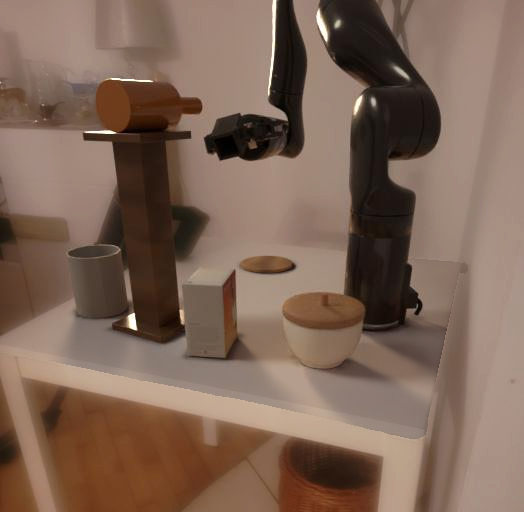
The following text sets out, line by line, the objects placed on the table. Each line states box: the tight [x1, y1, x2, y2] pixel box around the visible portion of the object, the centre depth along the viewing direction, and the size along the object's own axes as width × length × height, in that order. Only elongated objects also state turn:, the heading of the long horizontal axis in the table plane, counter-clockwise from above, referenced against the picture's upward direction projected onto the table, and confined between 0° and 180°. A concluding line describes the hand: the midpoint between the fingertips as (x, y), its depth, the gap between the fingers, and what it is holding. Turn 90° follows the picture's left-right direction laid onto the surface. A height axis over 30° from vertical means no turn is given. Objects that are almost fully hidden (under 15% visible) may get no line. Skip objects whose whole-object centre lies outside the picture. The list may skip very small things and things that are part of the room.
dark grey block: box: [210, 112, 247, 162], centre depth 76 cm, size 6×4×4 cm
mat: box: [241, 255, 293, 274], centre depth 106 cm, size 11×11×1 cm
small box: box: [181, 266, 238, 359], centre depth 68 cm, size 8×6×10 cm
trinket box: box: [281, 291, 365, 370], centre depth 65 cm, size 11×11×9 cm
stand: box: [82, 129, 192, 344], centre depth 71 cm, size 10×10×28 cm
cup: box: [65, 244, 129, 319], centre depth 81 cm, size 8×8×10 cm
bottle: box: [94, 78, 204, 133], centre depth 67 cm, size 17×6×6 cm, turn 149°
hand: (223, 138), depth 73 cm, fingers closed on dark grey block, 4 cm apart
